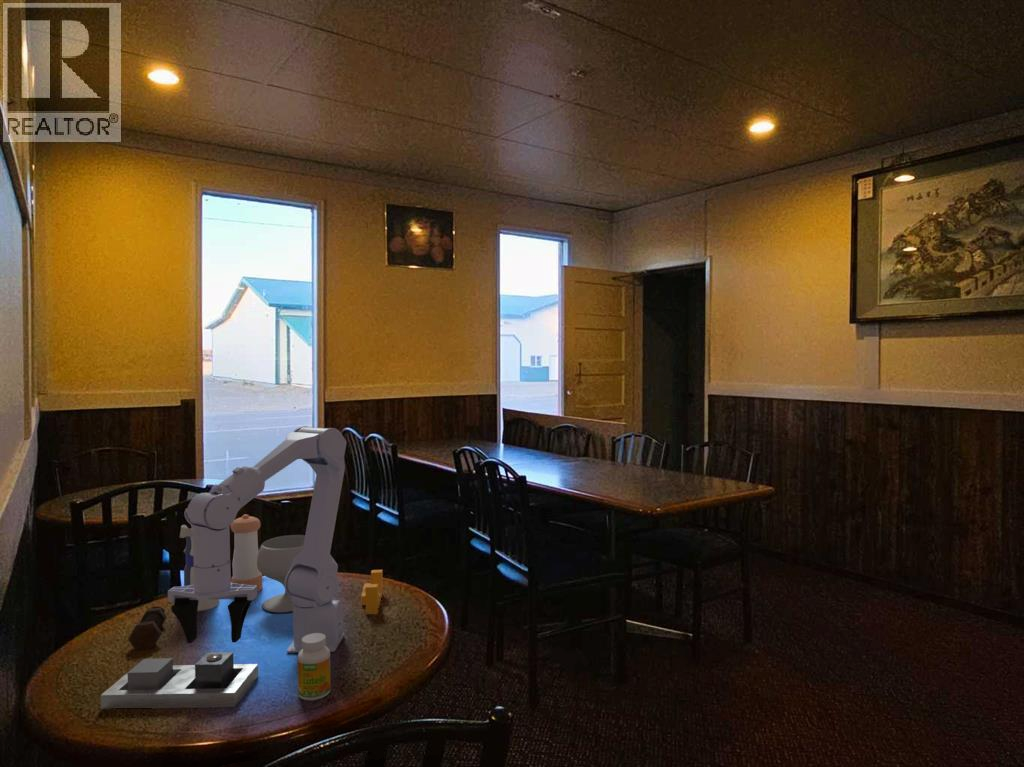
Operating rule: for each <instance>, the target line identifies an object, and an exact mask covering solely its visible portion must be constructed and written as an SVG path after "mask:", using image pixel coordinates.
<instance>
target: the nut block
mask: <svg viewBox="0 0 1024 767" xmlns="http://www.w3.org/2000/svg"><path fill="white" fill-rule="evenodd" d="M234 664H235V663H234V652H232V651H231V652H228V651H227V652H226V651H224V652H223V651H222V652H221V651H220V652H218V651H217V652H213V651H212V652H206V654H205V655H203V657H201V658H200V659H199V660H198V661H197V662H196V663H195V664H194V665H195V689H216V688H227V687H228V686H229V685H230V683H231V682H232V681H233V680H234Z"/></svg>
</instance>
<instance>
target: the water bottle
mask: <svg viewBox="0 0 1024 767" xmlns="http://www.w3.org/2000/svg"><path fill="white" fill-rule="evenodd" d="M179 538H180V539H185V540H186V541H185V542H186V545H185V549H184V550H183V553H184V554H185V566H184V569H183V586H189V585H194V559H193V533H192V528H189V527H188V526H187V525H186V524H182V525H181V526H180V532H179ZM220 602H221V601H220V599H210V600H199V602H198V609H197V612H201V611H208V610H210V609H213V608H216V607H217V606H219V604H220Z"/></svg>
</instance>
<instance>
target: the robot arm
mask: <svg viewBox="0 0 1024 767" xmlns="http://www.w3.org/2000/svg"><path fill="white" fill-rule="evenodd" d="M346 447H347V440H346V438H345V437H344V435H343V434H342V432H341V431H340V430H339V429H338V428H335V427H329V428H327V427H326V428H325V427H311V426H307V425H302V426H299V427H297V428H295V429H294V430H293V431H291V432H289V433H288V434H286V437H285V440H284V441H282V442H281V443H280V444H279V445H277V446H276V447H275V448H274V449H273V450H272V451H270V452H269V453H268V454H267V455H266V456H264V457H263V458H262V459H261V460H260V461H259V462H257V463H255V465H254V466H246V465H245V466H242V467H240V466H239V467H238V466H237V467H236V468H234V469H233V470H232V471H231V472H232V474H231V475H229V476H228V477H227V478H226V479H224V480H222V481H220V483H218V484H216V483H215V484H213V486H211V487H210V488H211V489H210V490H209V492H200V493H198V494H196V495H194V497H192V499H191V500H190V502H189V504H187V505H188V506H187V508H186V509H187V510H185V511H184V512H183V514H184V518H185V520H186V521H187V523H188V524H190V527H191V529H192V533H193V559H194V585H189V586H184V585H181V586H173V587H171V588H170V589H169V590H167V602H169V603H171V602H174V603H173V605H171V607H170V609H171V613H173V615H174V616H175V617H176V619H177V621H178V622H179V623H180V626H181V628H182V631H183V633H184V634H183V635H184V637H185V640H186V643H187V644H191V643H193V642H195V640H196V639H197V638H198V618H197V617H198V611H197V609H198V602H199V600H210V599H219V600H233V601H231V602H230V603H229V604H228V605H227V610H228V614H229V620H230V626H231V628H230V631H231V632H230V635H231V636H230V638H231V642H232V643H238V641H239V640H241V637H242V631H243V627H244V623H245V619H246V617H247V613H248V612H249V609H250V606H251V604H252V602H253V601H254V599H257V597H258V592H257V585H243V584H236V583H231V578H232V575H231V541H230V540H231V539H230V538H231V533H230V526H231V524H232V523H233V521H234V520H236V519H237V518H236V517H237V515H238V512H239V511H240V510H241V509H242V508H243V507H245V506H246V505H247V504H248V503H249V502H250V501H252V500H253V499H254V498H256V497H257V496H258V495H259V494H261V493H262V492H263V491H264V490H265V486H266V484H265V483H266V481H267V480H269V479H270V478H272V477H273V476H275V475H276V474H278V473H280V472H281V471H282V470H283V469H285V468H287V467H288V466H289V465H291V464H292V463H293V462H295V461H297V460H303V462H305V463H307V464H308V465H309V466H310V467H311V469H312V470H313V471H314V473H315V476H316V477H315V481H314V486H313V492H312V496H311V503H310V508H309V512H308V518H307V523H306V529H305V539H304V544H303V550H302V552H301V553H299V554H298V555H297V556H296V557H294V558H293V560H292V564H291V568H290V570H289V571H288V573H287V575H286V577H285V582H284V586H285V587H284V586H283V587H284V591H285V590H286V592H287V593H288V594H289V595H291V601H293V611H292V613H293V614H292V615H293V616H292V618H293V619H292V620H293V621H292V622H293V623H292V624H293V627H292V629H293V641H292V642H291V644H290V645H289V646H288V647H287V649H286V652H287V654H288V653H290V654H292V653H293V654H294V653H298V654H299V652H300V651H301V650H302V638H303V637H304V636H306V635H308V634H313V633H321V634H324V635H325V636H326V645H325V646H326V647H328V648H329V650H330V653H334V652H336V650H337V648H338V647H339V645H340V643H341V642H342V640H343V638H344V636H345V633H344V609H343V608H344V607H343V602H342V601H341V600H340V599H335V598H334V597H335V596H336V593H337V591H338V588H339V578H338V569H339V565H338V563H337V562H336V560H335V559H334V557H332V554H331V549H332V545H333V544H332V543H333V538H334V533H335V527H336V521H337V515H338V512H339V506H340V505H339V504H340V498H341V493H342V486H343V481H344V476H345V469H346V465H345V454H346ZM312 567H314V568H312Z"/></svg>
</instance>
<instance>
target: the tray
mask: <svg viewBox="0 0 1024 767" xmlns="http://www.w3.org/2000/svg"><path fill="white" fill-rule="evenodd" d="M258 677H259V665H258V663H240V664H239V663H236V664H235V663H234V680H233V681H232V682H231V683H230V685H229V686H228V687H227V688H216V689H195V664H180V665H179V664H178V665H177V664H175V665H174V664H173V678H172V679H171V680H170V681H169V682H168V683H167V684H166V685H165V686H164V687H162V688H161V689H159V690H128V672H127V673H125V674H124V675H123V676H122V677H120V679H119V678H118V680H117V681H115V683H113V684H112V685H111V686H109V688H107V689H106V690H105V691H104V692H103V693H101V694H100V710H103V709H102V708H105V709H104V710H108V709H107V708H152V709H188V708H189V709H197V708H198V709H199V708H200V709H201V708H202V709H203V708H236V707H237V705H238V704H239V702H240V701H241V700H242V699H243V698H244V696H245V694H246V693H247V692H248V691H249V689H250V688H251V687H252V685H254V683H255V682H256V681H257V679H258Z"/></svg>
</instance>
